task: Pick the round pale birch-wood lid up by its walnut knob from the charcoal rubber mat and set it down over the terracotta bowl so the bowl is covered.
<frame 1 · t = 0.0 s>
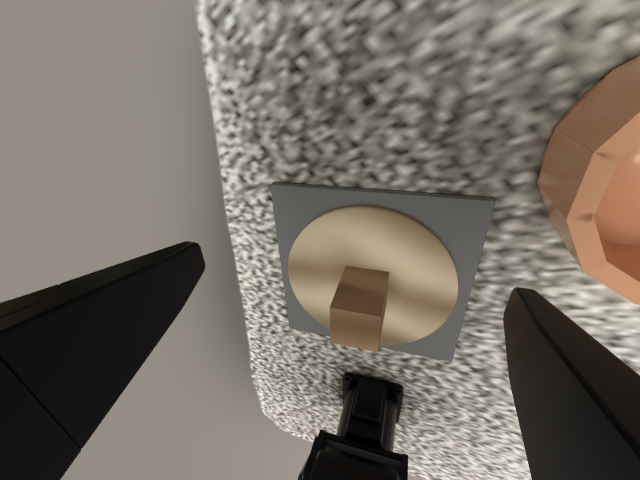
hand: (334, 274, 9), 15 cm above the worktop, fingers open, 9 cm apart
lid: (367, 279, 26), point 1 cm above the worktop, touching mat
mat: (369, 275, 27), on the worktop
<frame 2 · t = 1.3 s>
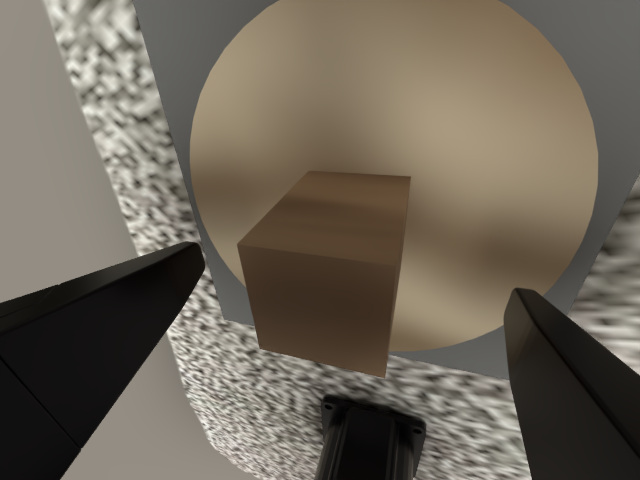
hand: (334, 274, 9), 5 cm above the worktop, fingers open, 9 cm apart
lid: (360, 209, 12), point 1 cm above the worktop, touching mat
mat: (363, 203, 13), on the worktop
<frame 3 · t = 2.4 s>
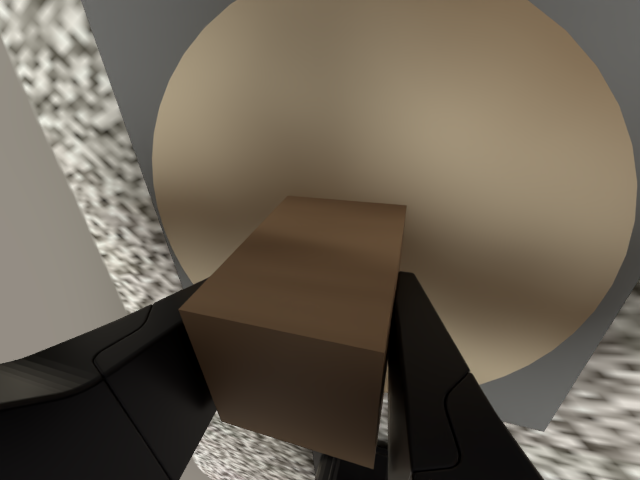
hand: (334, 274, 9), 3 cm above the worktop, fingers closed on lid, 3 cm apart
lid: (349, 238, 10), point 1 cm above the worktop, touching gripper, mat
mat: (353, 229, 11), on the worktop
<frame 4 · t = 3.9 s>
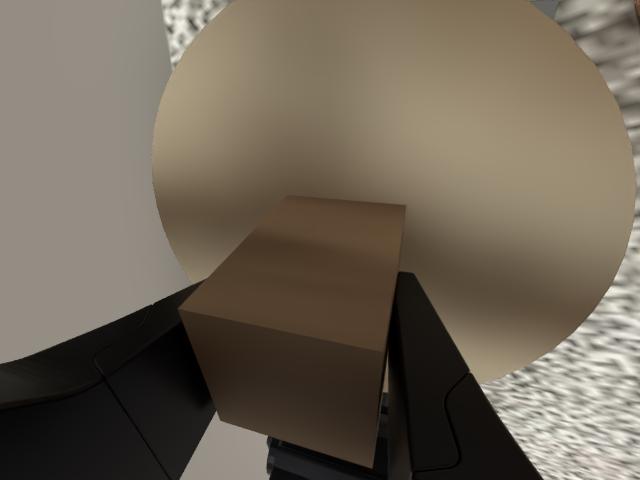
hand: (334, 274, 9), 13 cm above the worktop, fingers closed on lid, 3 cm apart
lid: (349, 238, 10), point 11 cm above the worktop, touching gripper
mat: (365, 167, 20), on the worktop
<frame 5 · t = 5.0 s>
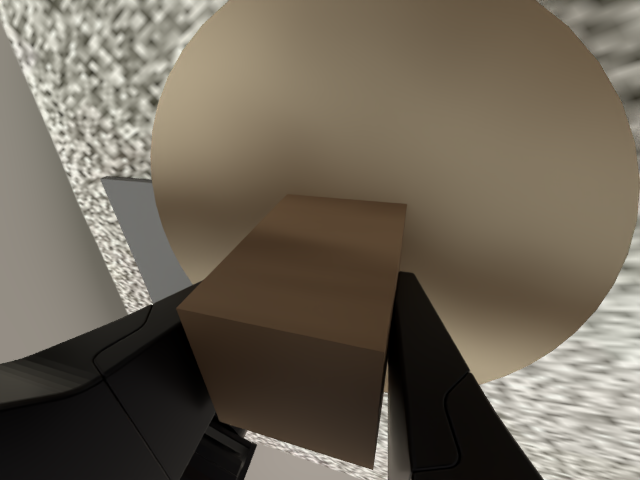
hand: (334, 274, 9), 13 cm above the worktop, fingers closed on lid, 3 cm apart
lid: (349, 237, 10), point 11 cm above the worktop, touching gripper
mat: (206, 263, 29), on the worktop
when the fingers open (9 cm above the worktop, at t = 5.8 s): lid drops 1 cm, resting on bowl.
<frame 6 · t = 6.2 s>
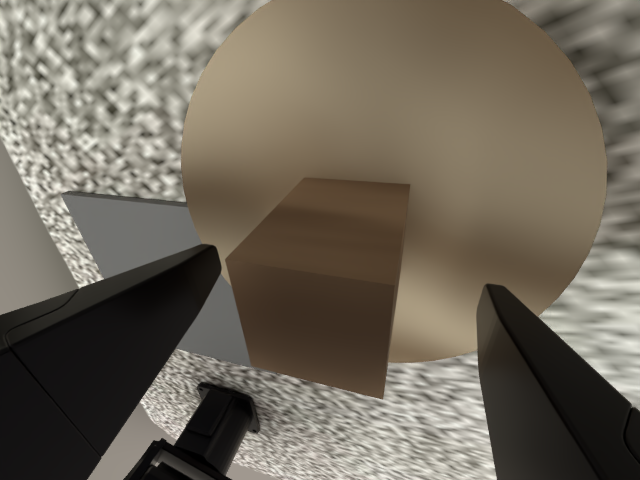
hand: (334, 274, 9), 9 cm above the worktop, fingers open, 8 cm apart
lid: (358, 217, 12), point 5 cm above the worktop, touching bowl
mat: (181, 286, 26), on the worktop
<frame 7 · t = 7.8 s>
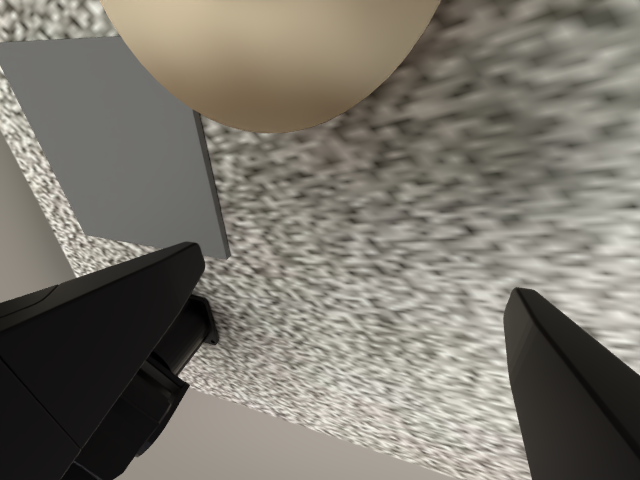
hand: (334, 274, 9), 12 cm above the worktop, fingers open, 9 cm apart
mat: (124, 158, 25), on the worktop
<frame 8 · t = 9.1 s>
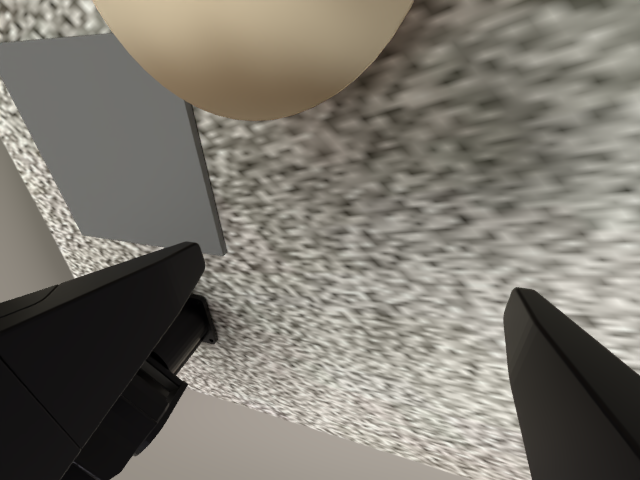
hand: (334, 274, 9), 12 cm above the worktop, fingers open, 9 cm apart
mat: (119, 156, 25), on the worktop
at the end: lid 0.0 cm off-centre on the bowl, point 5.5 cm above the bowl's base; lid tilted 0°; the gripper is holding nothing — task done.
